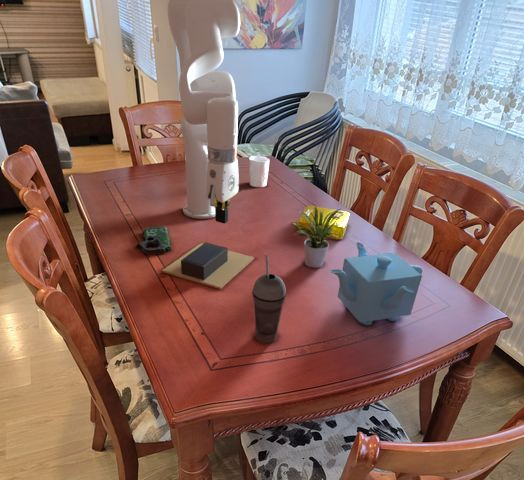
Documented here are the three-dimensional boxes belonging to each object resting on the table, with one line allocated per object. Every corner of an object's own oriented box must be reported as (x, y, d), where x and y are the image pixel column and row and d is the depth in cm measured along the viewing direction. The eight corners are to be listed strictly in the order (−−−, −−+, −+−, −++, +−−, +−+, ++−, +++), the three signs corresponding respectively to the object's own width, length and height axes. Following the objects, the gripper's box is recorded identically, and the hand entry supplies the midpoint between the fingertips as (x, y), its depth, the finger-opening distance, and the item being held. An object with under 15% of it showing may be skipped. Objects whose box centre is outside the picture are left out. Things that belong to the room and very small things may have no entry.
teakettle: (415, 305, 120) (431, 252, 111) (399, 342, 107) (415, 286, 98) (345, 285, 126) (355, 234, 117) (321, 319, 112) (330, 264, 103)
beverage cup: (271, 350, 102) (278, 268, 89) (243, 338, 104) (246, 257, 92) (287, 334, 107) (296, 254, 94) (260, 323, 109) (266, 245, 97)
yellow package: (305, 216, 163) (307, 203, 160) (348, 223, 160) (350, 210, 157) (296, 233, 151) (297, 219, 148) (342, 241, 149) (344, 226, 146)
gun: (134, 227, 145) (167, 225, 147) (135, 231, 145) (167, 230, 148) (136, 250, 132) (172, 248, 134) (137, 255, 133) (172, 253, 135)
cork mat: (200, 244, 141) (200, 242, 140) (254, 259, 135) (254, 257, 135) (162, 272, 126) (162, 270, 126) (220, 289, 121) (220, 287, 120)
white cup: (267, 188, 184) (269, 162, 177) (247, 187, 183) (248, 161, 177) (267, 182, 190) (269, 156, 184) (248, 180, 190) (249, 155, 183)
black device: (205, 241, 132) (180, 260, 122) (227, 247, 130) (203, 266, 120) (206, 255, 134) (181, 273, 125) (227, 260, 132) (203, 280, 123)
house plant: (313, 246, 144) (320, 194, 134) (348, 263, 137) (358, 208, 127) (281, 259, 136) (286, 205, 126) (317, 278, 128) (325, 221, 118)
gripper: (220, 163, 113) (220, 234, 124) (248, 149, 123) (245, 215, 135) (193, 157, 115) (196, 227, 126) (223, 144, 126) (223, 209, 137)
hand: (221, 221), depth 131 cm, fingers closed
